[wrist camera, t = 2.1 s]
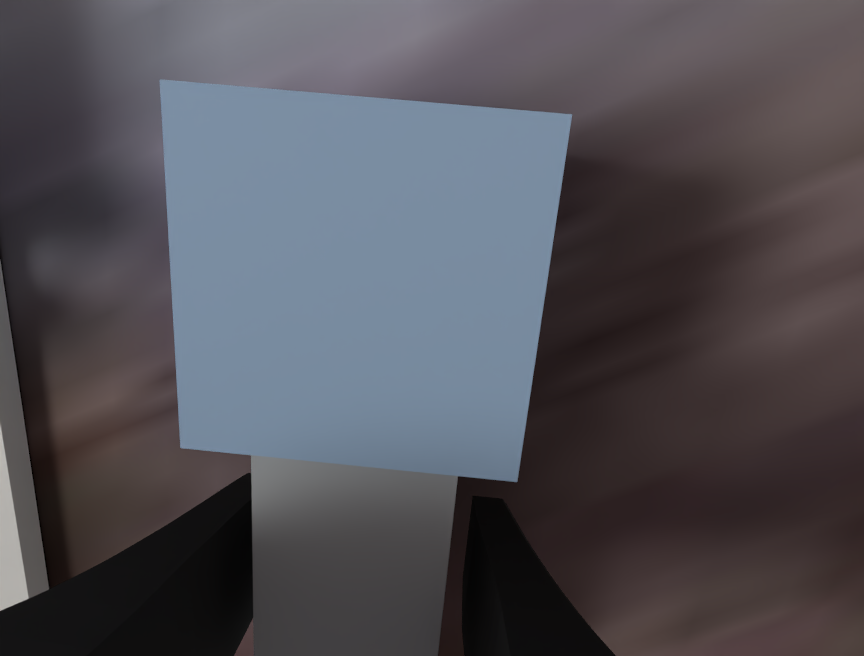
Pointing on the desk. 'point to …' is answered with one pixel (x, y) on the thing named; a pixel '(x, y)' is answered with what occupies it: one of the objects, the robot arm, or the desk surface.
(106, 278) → the desk surface
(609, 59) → the desk surface
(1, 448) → the slider rail
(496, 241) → the blue-capped grey bar
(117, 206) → the desk surface
